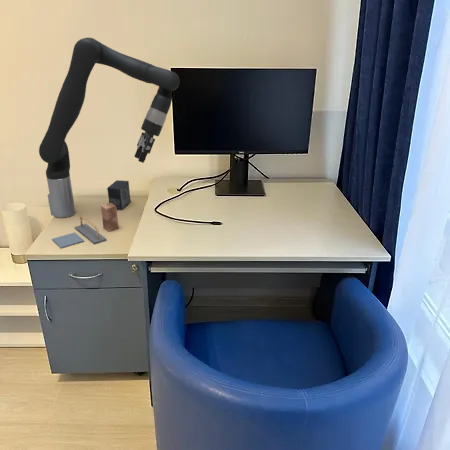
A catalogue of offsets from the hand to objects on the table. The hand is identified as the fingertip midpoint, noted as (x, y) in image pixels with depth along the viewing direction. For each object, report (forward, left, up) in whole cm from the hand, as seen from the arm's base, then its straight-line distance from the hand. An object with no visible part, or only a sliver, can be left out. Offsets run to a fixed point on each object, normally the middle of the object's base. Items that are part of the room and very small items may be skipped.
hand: (138, 159), depth 171 cm
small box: (-16, +14, -27) cm, 34 cm away
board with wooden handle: (-16, -17, -27) cm, 35 cm away
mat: (-22, -23, -27) cm, 42 cm away
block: (-10, -10, -27) cm, 30 cm away
